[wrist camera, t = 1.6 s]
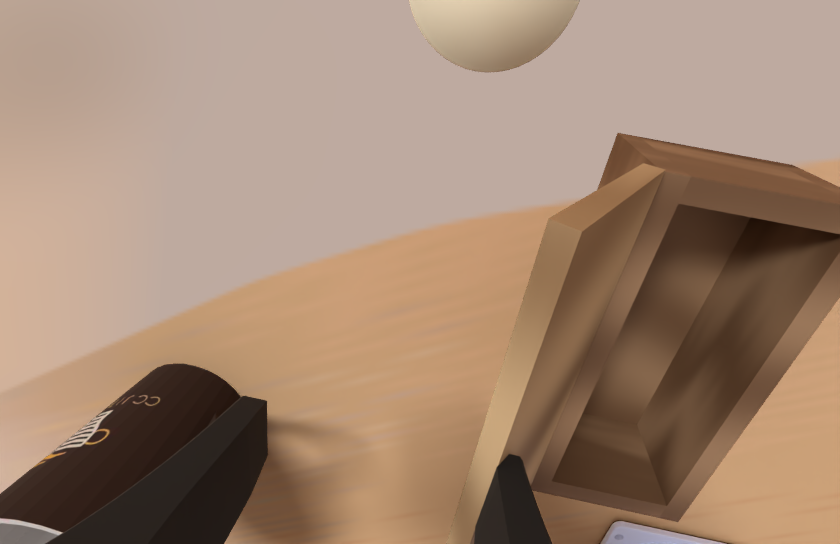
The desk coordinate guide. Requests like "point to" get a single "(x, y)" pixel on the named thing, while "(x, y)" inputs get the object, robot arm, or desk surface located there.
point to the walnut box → (694, 325)
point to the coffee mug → (112, 452)
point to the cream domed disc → (491, 29)
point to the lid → (555, 330)
